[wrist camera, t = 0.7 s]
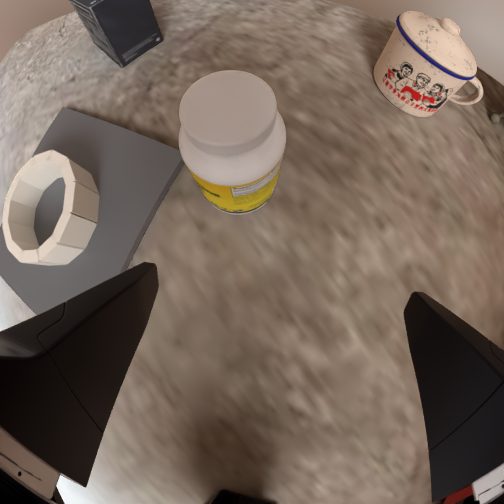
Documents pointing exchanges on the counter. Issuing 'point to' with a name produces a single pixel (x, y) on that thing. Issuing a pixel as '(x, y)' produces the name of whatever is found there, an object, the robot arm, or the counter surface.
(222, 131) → the pill bottle
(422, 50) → the teacup with lid
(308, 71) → the counter surface
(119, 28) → the small box
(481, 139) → the counter surface
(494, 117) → the tabletop clock
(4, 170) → the counter surface
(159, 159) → the socket board
